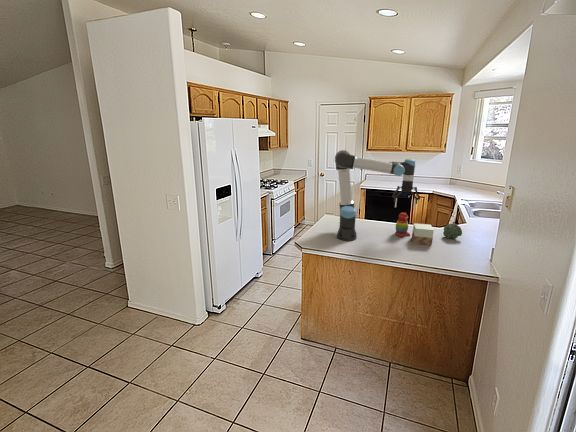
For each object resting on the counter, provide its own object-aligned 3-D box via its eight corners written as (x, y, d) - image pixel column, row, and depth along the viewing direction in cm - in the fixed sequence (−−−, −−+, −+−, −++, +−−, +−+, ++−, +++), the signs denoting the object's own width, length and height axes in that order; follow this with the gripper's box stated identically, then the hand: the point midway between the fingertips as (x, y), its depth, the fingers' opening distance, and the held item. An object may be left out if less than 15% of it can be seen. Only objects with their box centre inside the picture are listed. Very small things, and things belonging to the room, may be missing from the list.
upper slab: (414, 236, 227) (415, 228, 225) (412, 230, 238) (413, 223, 236) (432, 237, 224) (433, 230, 222) (429, 232, 235) (430, 224, 233)
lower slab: (414, 244, 228) (415, 236, 226) (411, 238, 239) (412, 230, 237) (431, 245, 226) (432, 237, 224) (428, 239, 237) (429, 232, 235)
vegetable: (467, 235, 238) (462, 231, 227) (452, 244, 244) (446, 241, 233) (457, 222, 245) (452, 218, 234) (443, 232, 250) (437, 228, 239)
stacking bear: (400, 237, 240) (402, 215, 234) (391, 233, 249) (393, 211, 243) (411, 235, 244) (414, 214, 238) (402, 231, 253) (404, 210, 247)
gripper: (390, 180, 232) (388, 207, 239) (426, 181, 227) (422, 209, 233) (390, 178, 239) (387, 205, 246) (424, 179, 234) (421, 207, 240)
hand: (404, 207), depth 239 cm, fingers open, 13 cm apart
